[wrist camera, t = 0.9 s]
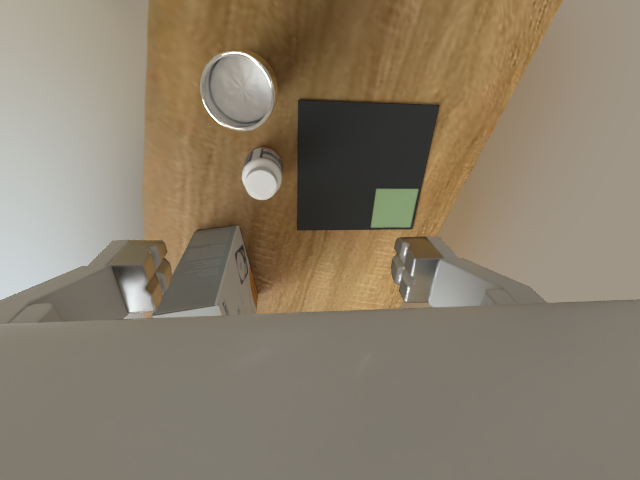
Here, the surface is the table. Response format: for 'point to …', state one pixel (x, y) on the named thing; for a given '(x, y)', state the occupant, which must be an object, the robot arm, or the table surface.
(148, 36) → the table surface
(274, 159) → the pill bottle
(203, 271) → the hard drive box
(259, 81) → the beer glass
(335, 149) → the mat
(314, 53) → the table surface
